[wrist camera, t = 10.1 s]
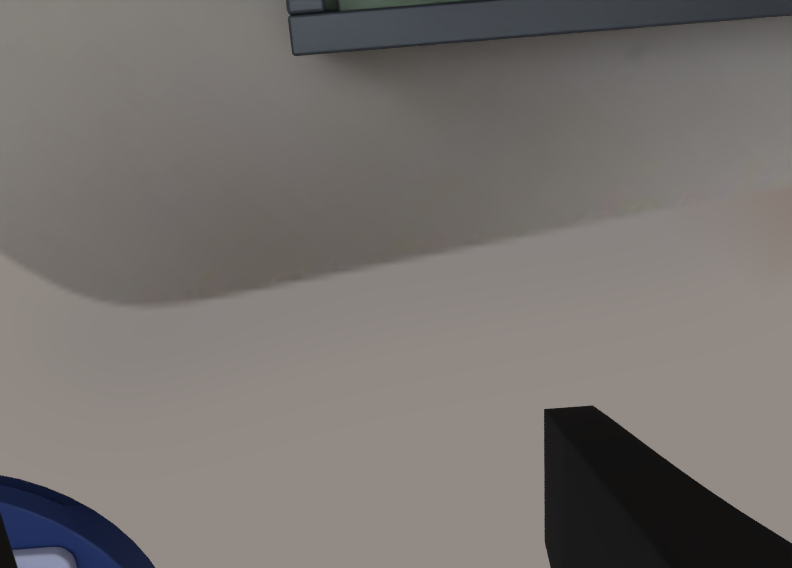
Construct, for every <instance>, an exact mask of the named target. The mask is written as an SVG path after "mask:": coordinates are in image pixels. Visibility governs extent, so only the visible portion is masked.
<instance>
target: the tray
mask: <svg viewBox="0 0 792 568" xmlns="http://www.w3.org/2000/svg"><path fill="white" fill-rule="evenodd" d="M286 4H287V11H288V13H289V14H290V16H289V17H288V23H289V31H290V39H291V47H292V54H293V55H294V56H301V55H313V54H325V53H337V52H349V51H362V50H374V49H386V48H398V47H411V46H423V45H435V44H447V43H460V42H472V41H484V40H496V39H508V38H521V37H533V36H545V35H557V34H570V33H582V32H594V31H606V30H618V29H631V28H643V27H655V26H667V25H680V24H692V23H704V22H716V21H729V20H741V19H753V18H765V17H777V16H790V15H792V0H286Z"/></svg>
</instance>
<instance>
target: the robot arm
mask: <svg viewBox="0 0 792 568" xmlns="http://www.w3.org/2000/svg"><path fill="white" fill-rule="evenodd" d="M544 453H545V454H544V457H545V458H544V460H545V461H544V462H545V545H546V549H547V553H548V558H549V562H550V566H551V568H792V543H790V542H789V541H787V540H785V539H784V538H782V537H781V536H779V535H777V534H776V533H774V532H773V531H771V530H769V529H768V528H766V527H765V526H763V525H761V524H760V523H758V522H757V521H755V520H753V519H752V518H750V517H749V516H747V515H745V514H744V513H742V512H741V511H739V510H738V509H736V508H734V507H733V506H732V505H730V504H729V503H727V502H726V501H724V500H723V499H721V498H720V497H718V496H717V495H715V494H714V493H712V492H711V491H709V490H708V489H706V488H705V487H704V486H702V485H701V484H699V483H698V482H696V481H695V480H694V479H692V478H691V477H689V476H688V475H686V474H685V473H684V472H682V471H681V470H679V469H678V468H677V467H675V466H674V465H673V464H671V463H670V462H669V461H667V460H666V459H664V458H663V457H662V456H660V455H659V454H658V453H656V452H655V451H654V450H652V449H651V448H649V447H648V446H647V445H646V444H644V443H643V442H642V441H640V440H639V439H637V438H636V437H635V436H633V435H632V434H631V433H629V432H628V431H627V430H625V429H624V428H623V427H622V426H620V425H619V424H618V423H616V422H615V421H614V420H612V419H611V418H609V417H608V416H607V415H605V414H604V413H602V412H601V411H600V410H598V409H597V408H595V407H594V406H581V407H568V408H555V409H544ZM0 568H77V564H76V561H75V558H74V556H73V555H72V553H70V552H69V551H68V550H67V549H64V548H62V547H41V548H28V549H14V550H12V548H11V545H10V542H9V538H8V535H7V532H6V529H5V526H4V523H3V519H2V516H1V513H0Z"/></svg>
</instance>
